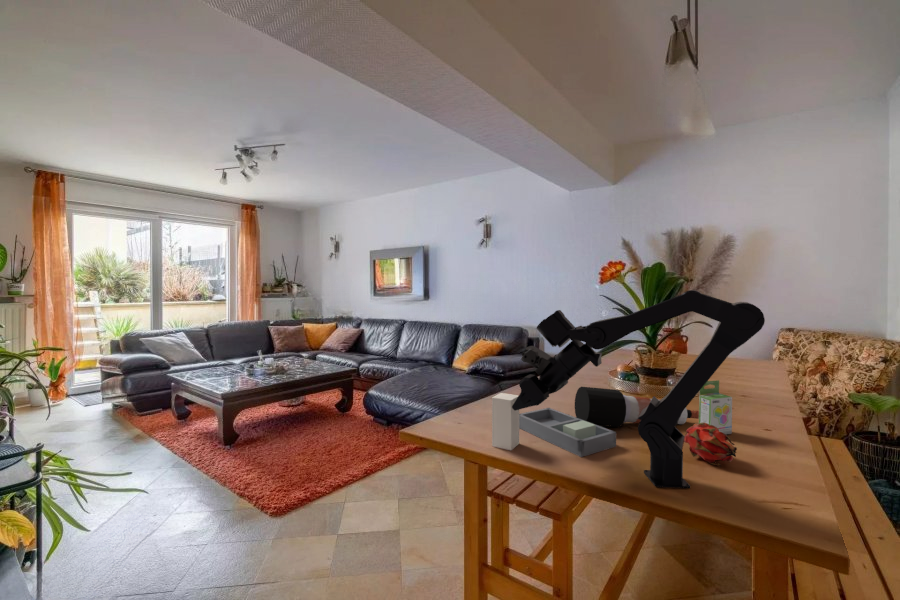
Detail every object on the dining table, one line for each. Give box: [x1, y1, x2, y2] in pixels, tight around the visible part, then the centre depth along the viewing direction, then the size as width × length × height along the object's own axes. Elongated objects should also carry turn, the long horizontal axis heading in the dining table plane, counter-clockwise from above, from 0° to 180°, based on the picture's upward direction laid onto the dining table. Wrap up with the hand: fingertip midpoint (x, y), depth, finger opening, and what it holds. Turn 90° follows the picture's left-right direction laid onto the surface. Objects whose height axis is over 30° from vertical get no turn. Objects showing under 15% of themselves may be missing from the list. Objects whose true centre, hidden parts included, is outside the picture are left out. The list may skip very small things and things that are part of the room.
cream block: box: [491, 392, 520, 451], centre depth 100 cm, size 5×5×12 cm
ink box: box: [698, 379, 733, 435], centre depth 106 cm, size 7×4×13 cm, turn 105°
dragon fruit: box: [684, 422, 738, 466], centre depth 90 cm, size 8×8×12 cm
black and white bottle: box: [574, 386, 699, 428], centre depth 114 cm, size 10×34×10 cm, turn 91°
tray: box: [519, 407, 617, 458], centre depth 105 cm, size 23×12×4 cm, turn 30°
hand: (521, 403), depth 97 cm, fingers open, 9 cm apart
